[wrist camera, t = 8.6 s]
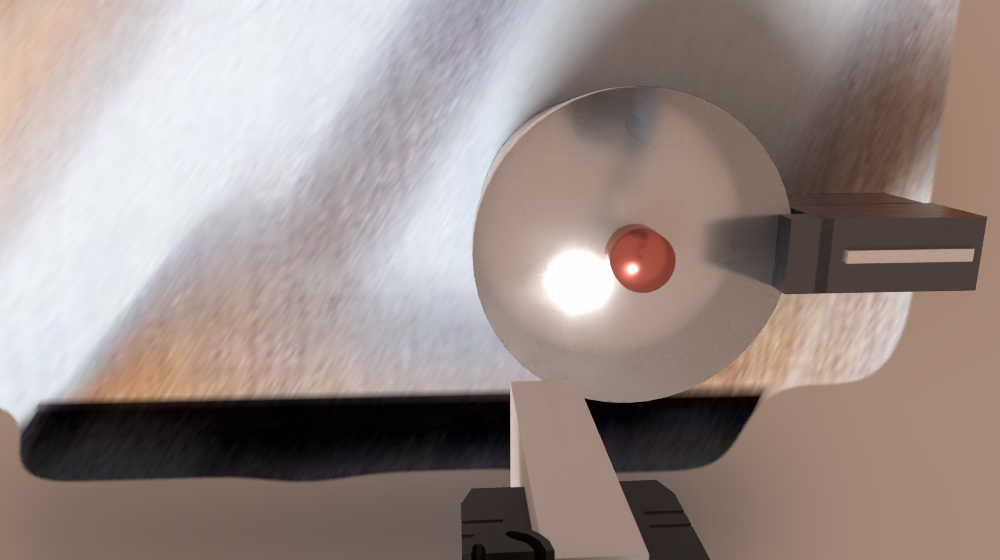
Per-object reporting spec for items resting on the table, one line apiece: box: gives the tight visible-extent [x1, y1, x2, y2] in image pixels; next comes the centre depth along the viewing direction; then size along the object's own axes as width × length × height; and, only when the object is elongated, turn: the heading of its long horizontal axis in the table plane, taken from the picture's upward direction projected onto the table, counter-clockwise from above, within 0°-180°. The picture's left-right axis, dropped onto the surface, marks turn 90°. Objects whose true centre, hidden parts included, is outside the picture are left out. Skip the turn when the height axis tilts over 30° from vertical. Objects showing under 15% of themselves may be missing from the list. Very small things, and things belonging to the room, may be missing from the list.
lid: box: [472, 86, 987, 403], centre depth 36 cm, size 15×24×5 cm, turn 90°
